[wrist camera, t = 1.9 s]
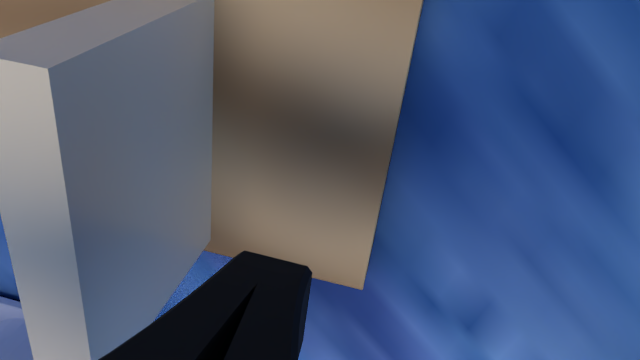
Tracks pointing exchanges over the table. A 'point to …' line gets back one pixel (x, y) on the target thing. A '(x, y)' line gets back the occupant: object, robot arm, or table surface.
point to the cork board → (295, 122)
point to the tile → (105, 167)
